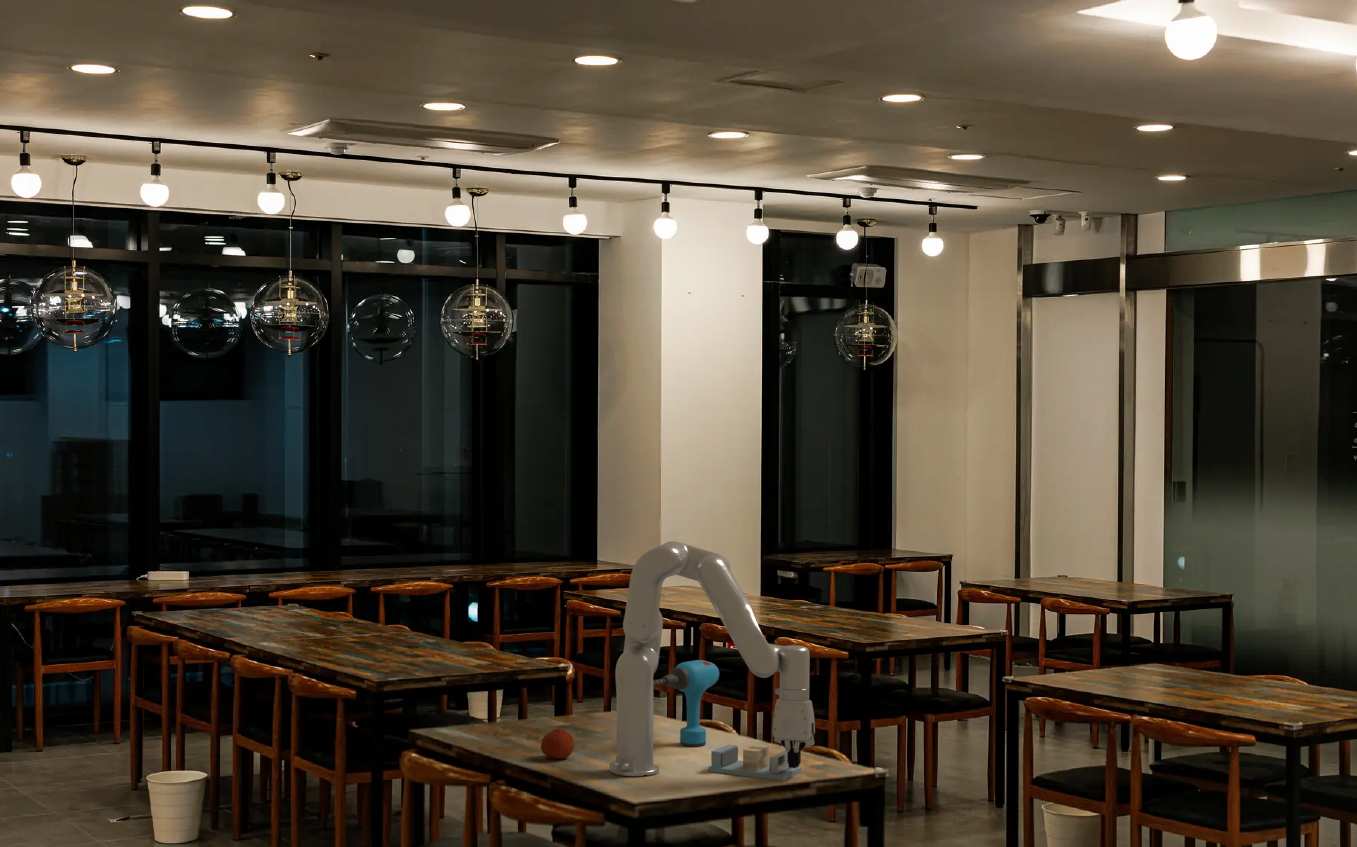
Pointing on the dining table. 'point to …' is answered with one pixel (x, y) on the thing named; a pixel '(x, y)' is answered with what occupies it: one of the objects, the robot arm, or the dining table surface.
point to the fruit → (557, 744)
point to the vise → (729, 764)
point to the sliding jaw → (779, 762)
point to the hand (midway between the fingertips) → (793, 766)
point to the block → (756, 757)
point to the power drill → (692, 695)
